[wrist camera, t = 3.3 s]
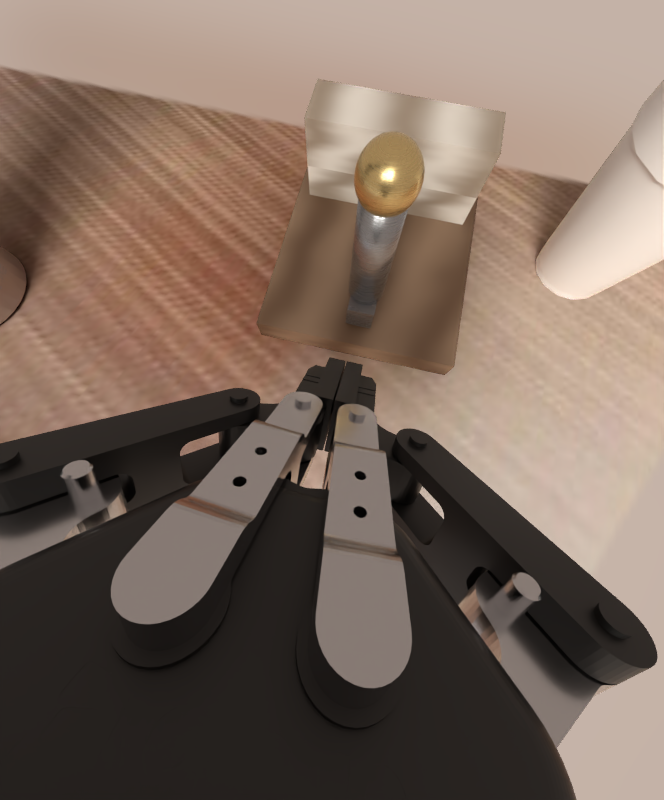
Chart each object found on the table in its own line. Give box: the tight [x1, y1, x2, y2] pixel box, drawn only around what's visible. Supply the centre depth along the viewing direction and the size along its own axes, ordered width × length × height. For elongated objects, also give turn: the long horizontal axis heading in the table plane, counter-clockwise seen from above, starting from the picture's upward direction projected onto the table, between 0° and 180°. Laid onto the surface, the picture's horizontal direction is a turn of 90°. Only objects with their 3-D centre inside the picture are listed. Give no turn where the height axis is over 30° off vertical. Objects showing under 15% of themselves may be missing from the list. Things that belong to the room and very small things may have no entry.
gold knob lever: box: [346, 131, 425, 328], centre depth 19 cm, size 3×9×12 cm, turn 167°
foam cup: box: [536, 80, 664, 300], centre depth 21 cm, size 10×9×13 cm
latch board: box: [257, 79, 506, 375], centre depth 24 cm, size 16×18×8 cm
